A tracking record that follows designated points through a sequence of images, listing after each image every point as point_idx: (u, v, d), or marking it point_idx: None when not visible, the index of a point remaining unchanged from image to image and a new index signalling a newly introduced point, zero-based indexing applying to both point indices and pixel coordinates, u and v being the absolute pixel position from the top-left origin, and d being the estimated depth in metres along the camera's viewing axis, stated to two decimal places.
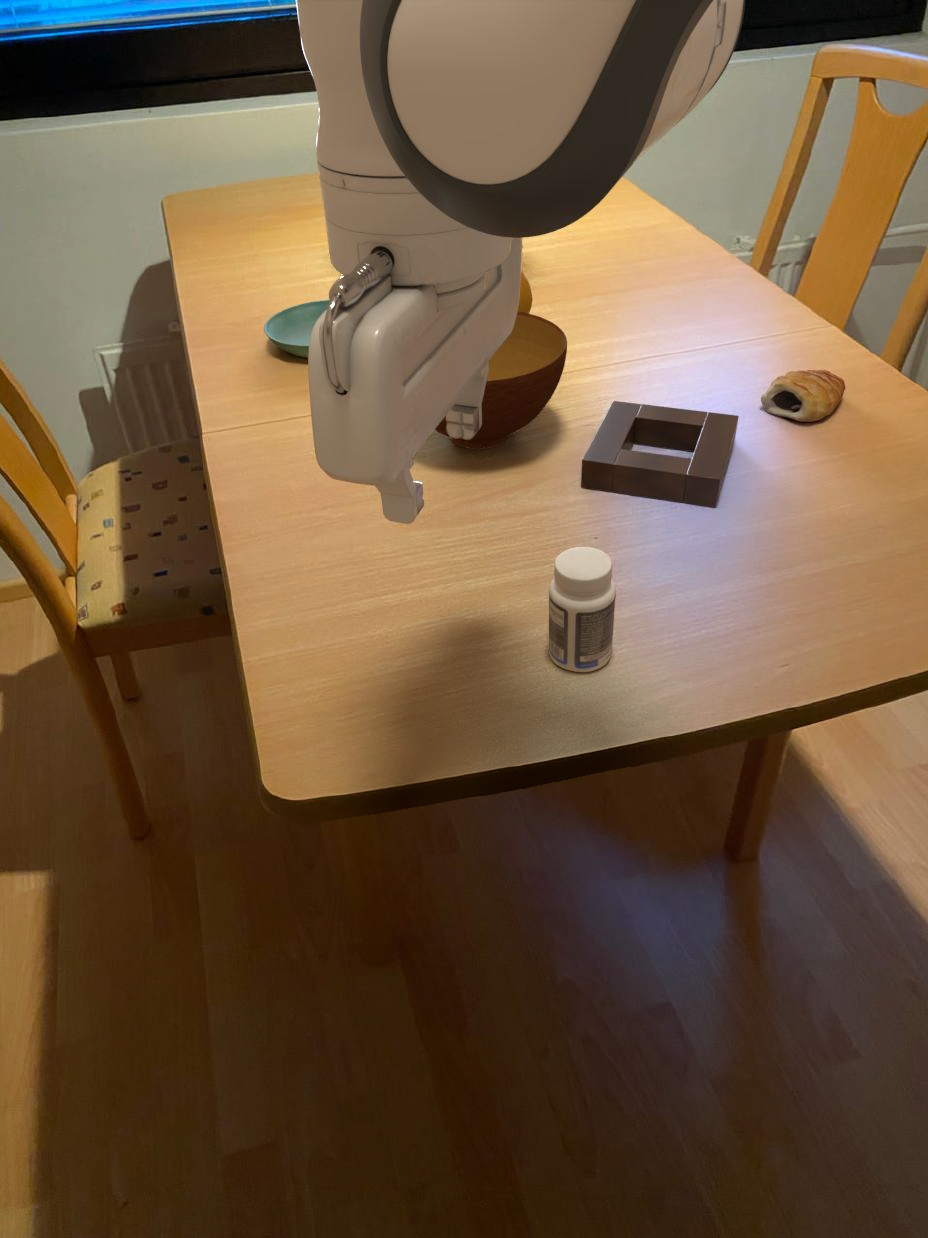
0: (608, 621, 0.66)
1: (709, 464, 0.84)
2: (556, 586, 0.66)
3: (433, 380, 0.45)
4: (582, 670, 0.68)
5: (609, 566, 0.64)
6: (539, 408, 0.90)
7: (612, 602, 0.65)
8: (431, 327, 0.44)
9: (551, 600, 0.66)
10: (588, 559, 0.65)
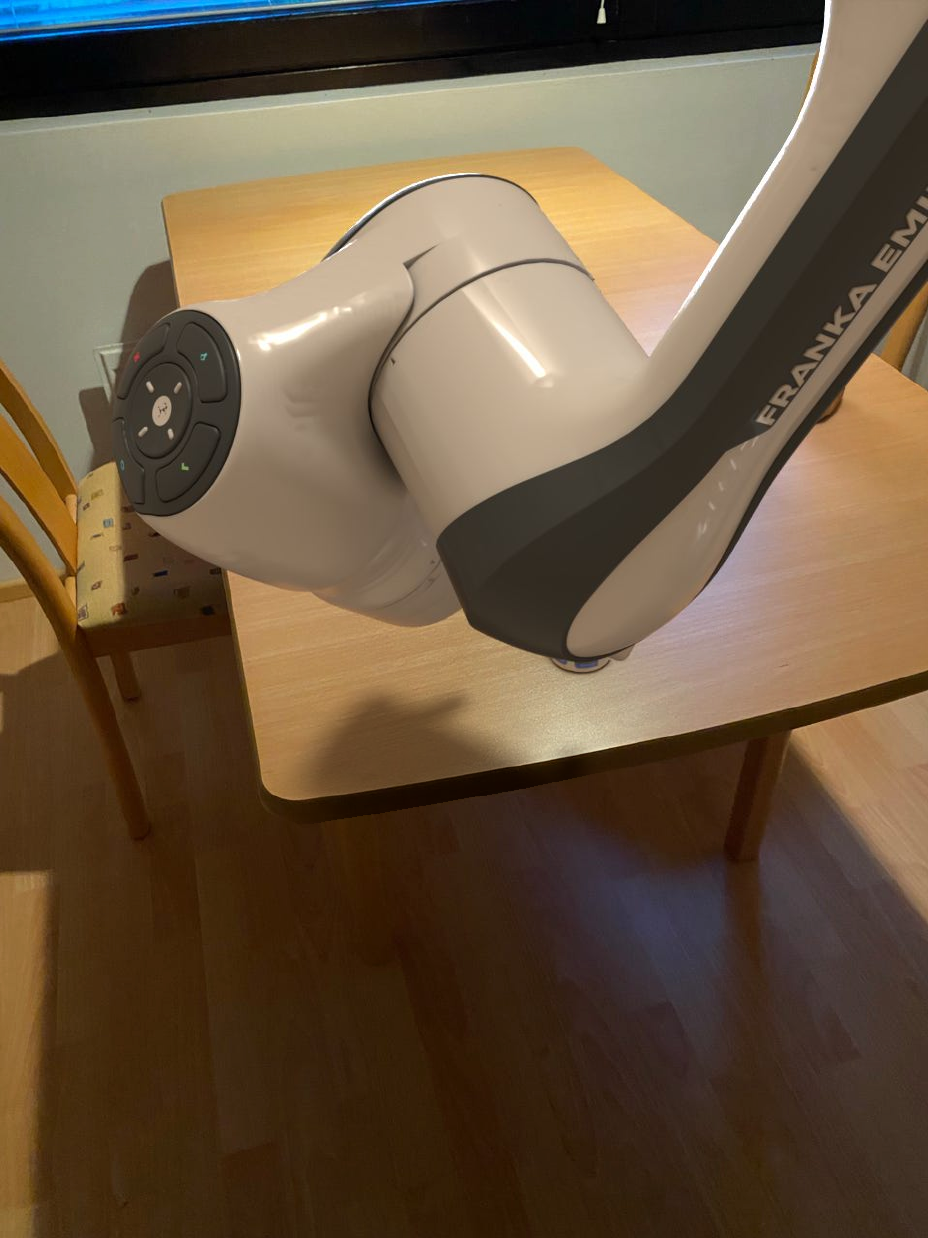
0: None
1: None
2: None
3: None
4: (582, 670, 0.68)
5: None
6: None
7: None
8: None
9: None
10: None
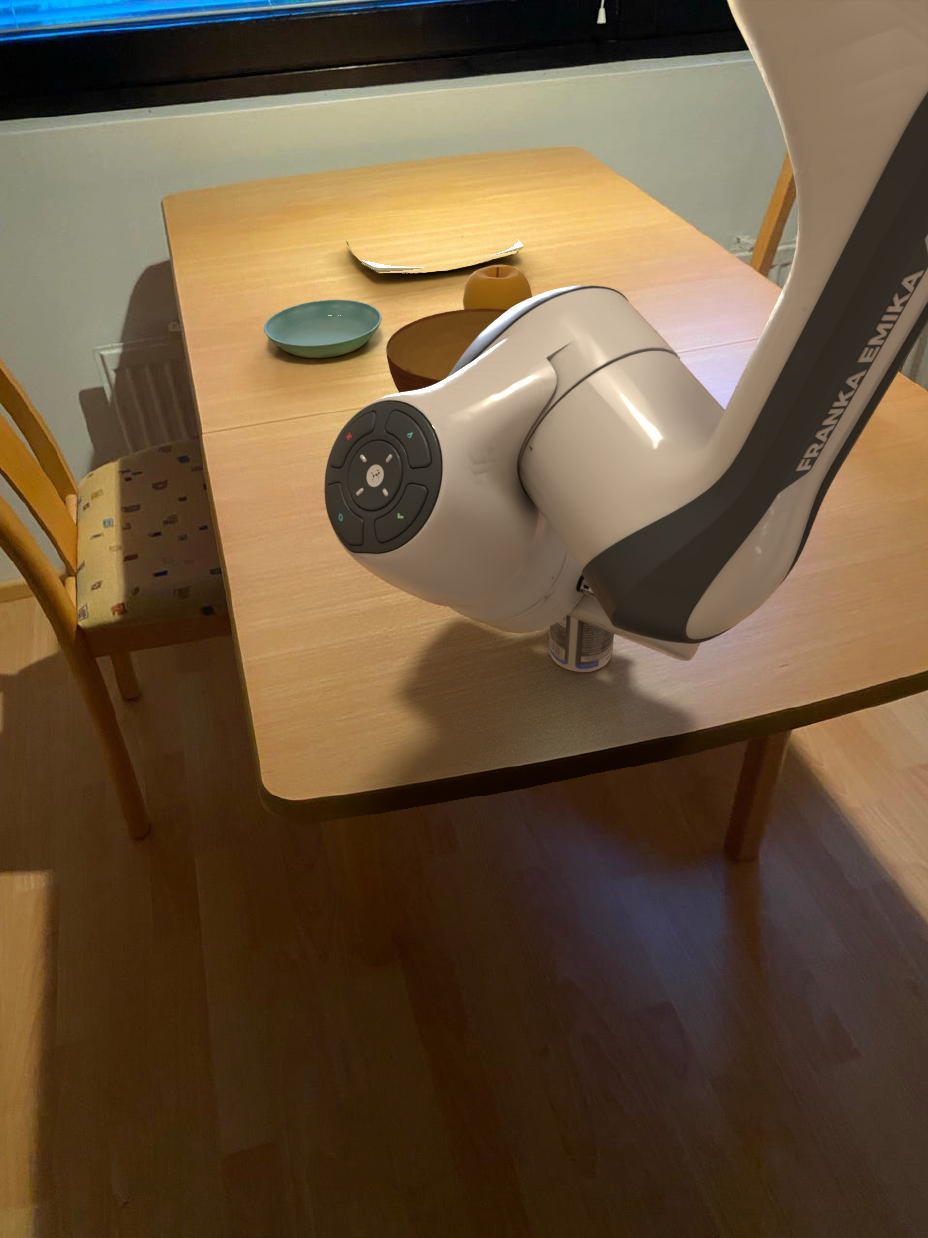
0: None
1: None
2: None
3: None
4: (583, 670, 0.68)
5: None
6: None
7: None
8: None
9: None
10: None
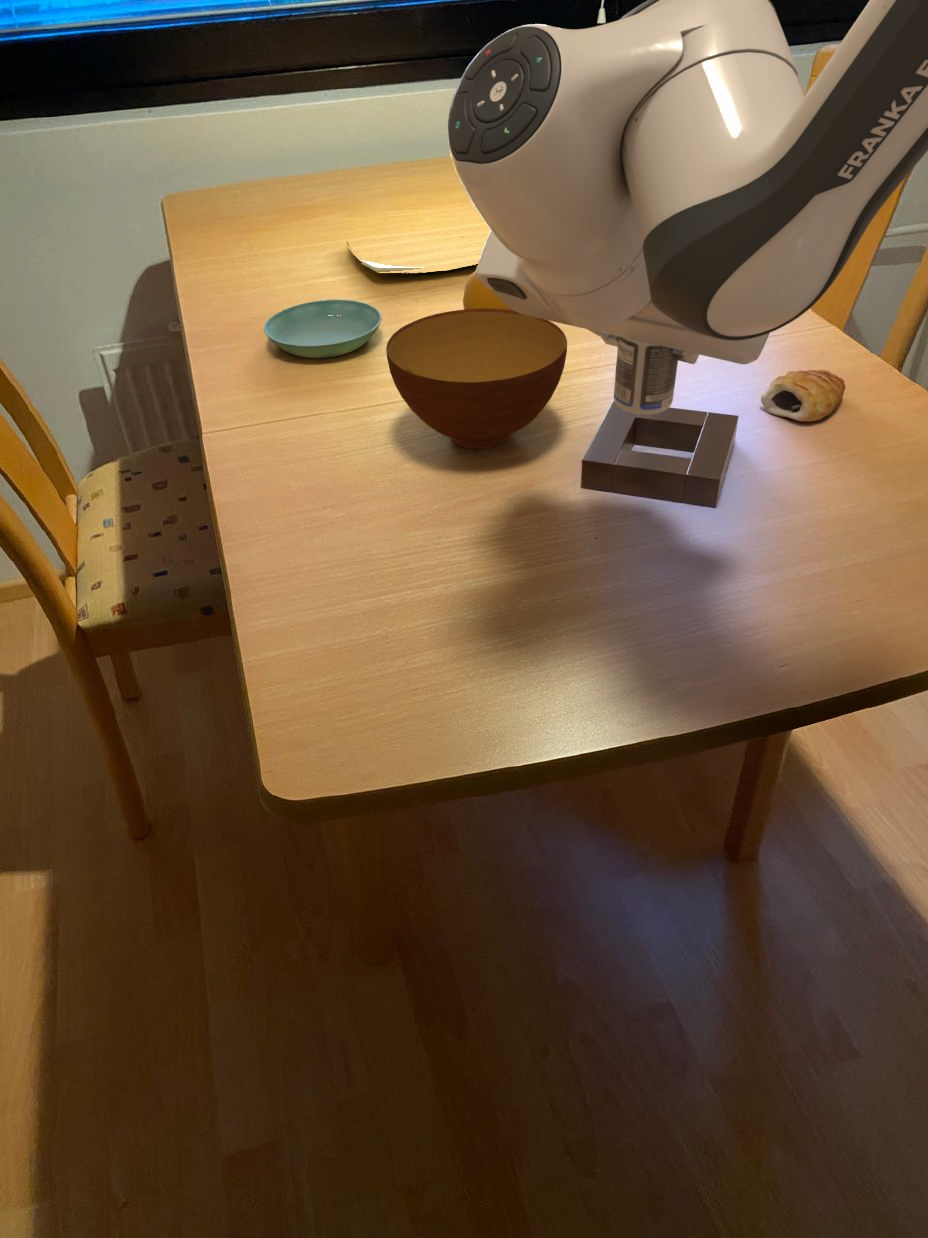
0: (674, 360, 0.71)
1: (709, 464, 0.84)
2: None
3: None
4: (646, 411, 0.73)
5: None
6: (539, 408, 0.90)
7: None
8: None
9: (622, 338, 0.71)
10: None
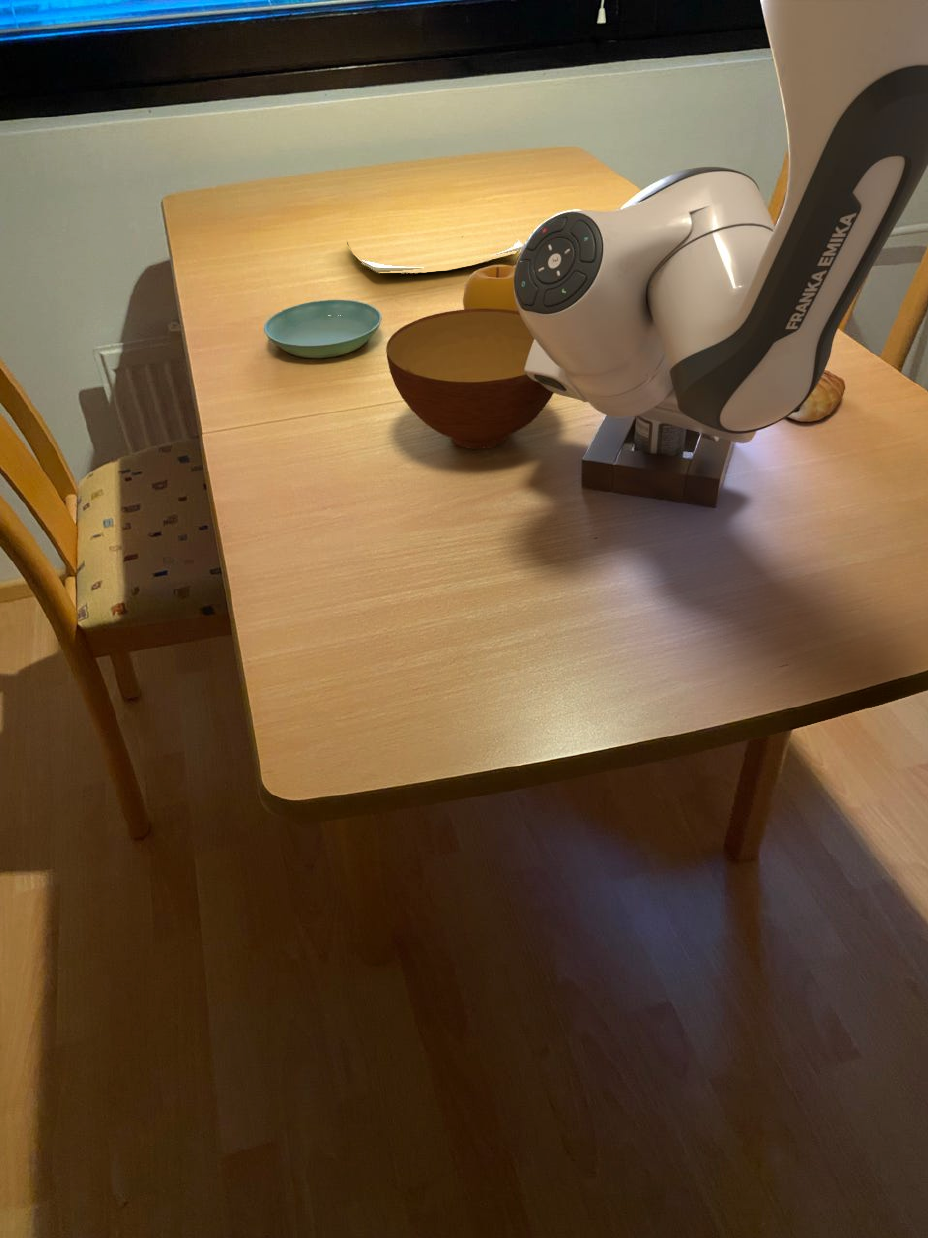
0: (682, 433, 0.86)
1: (709, 464, 0.84)
2: None
3: None
4: None
5: None
6: (539, 408, 0.90)
7: None
8: None
9: (639, 416, 0.86)
10: None
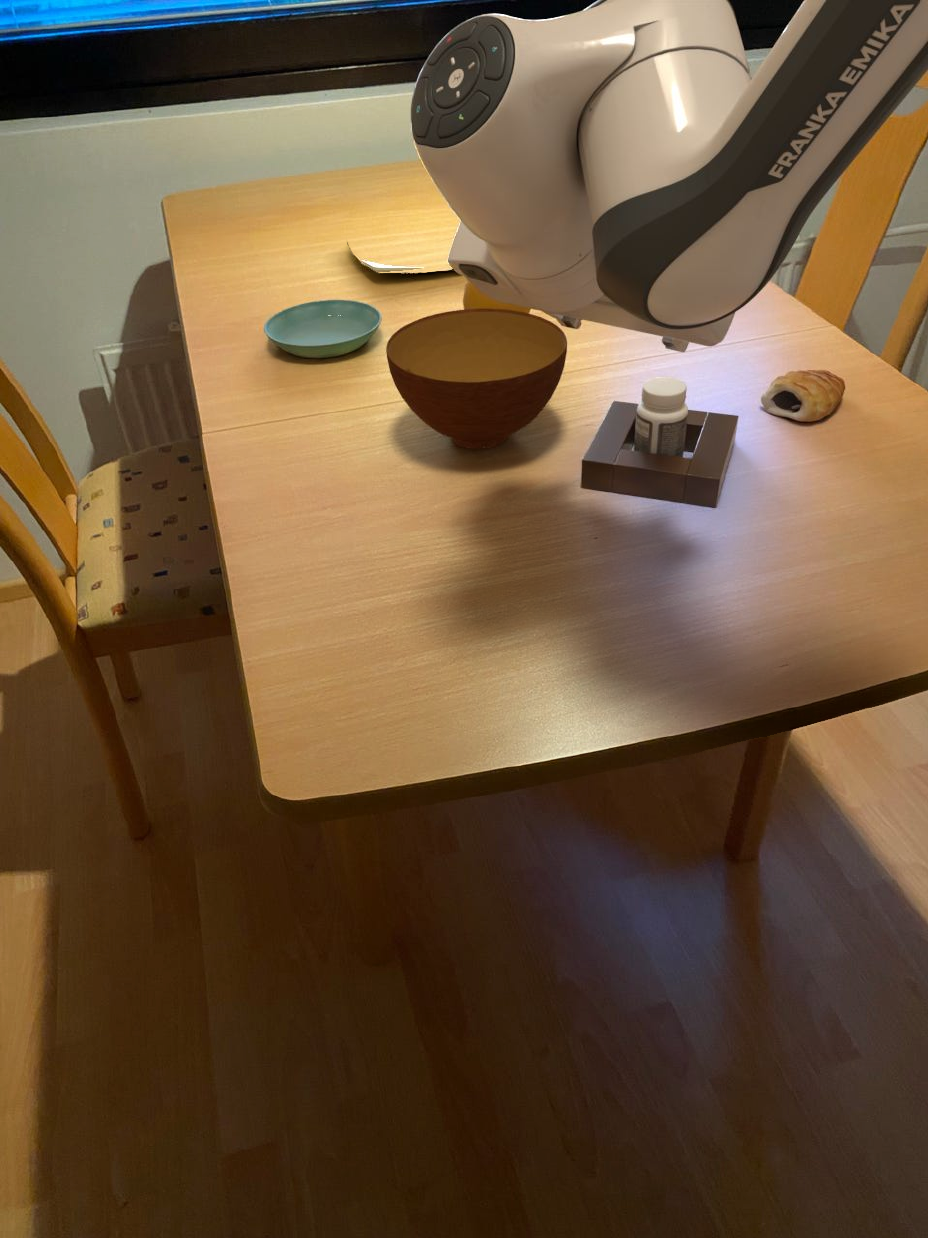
0: (682, 433, 0.86)
1: (709, 464, 0.84)
2: (643, 405, 0.86)
3: None
4: None
5: (684, 387, 0.85)
6: (539, 408, 0.90)
7: (686, 417, 0.86)
8: None
9: (639, 416, 0.86)
10: (668, 383, 0.85)
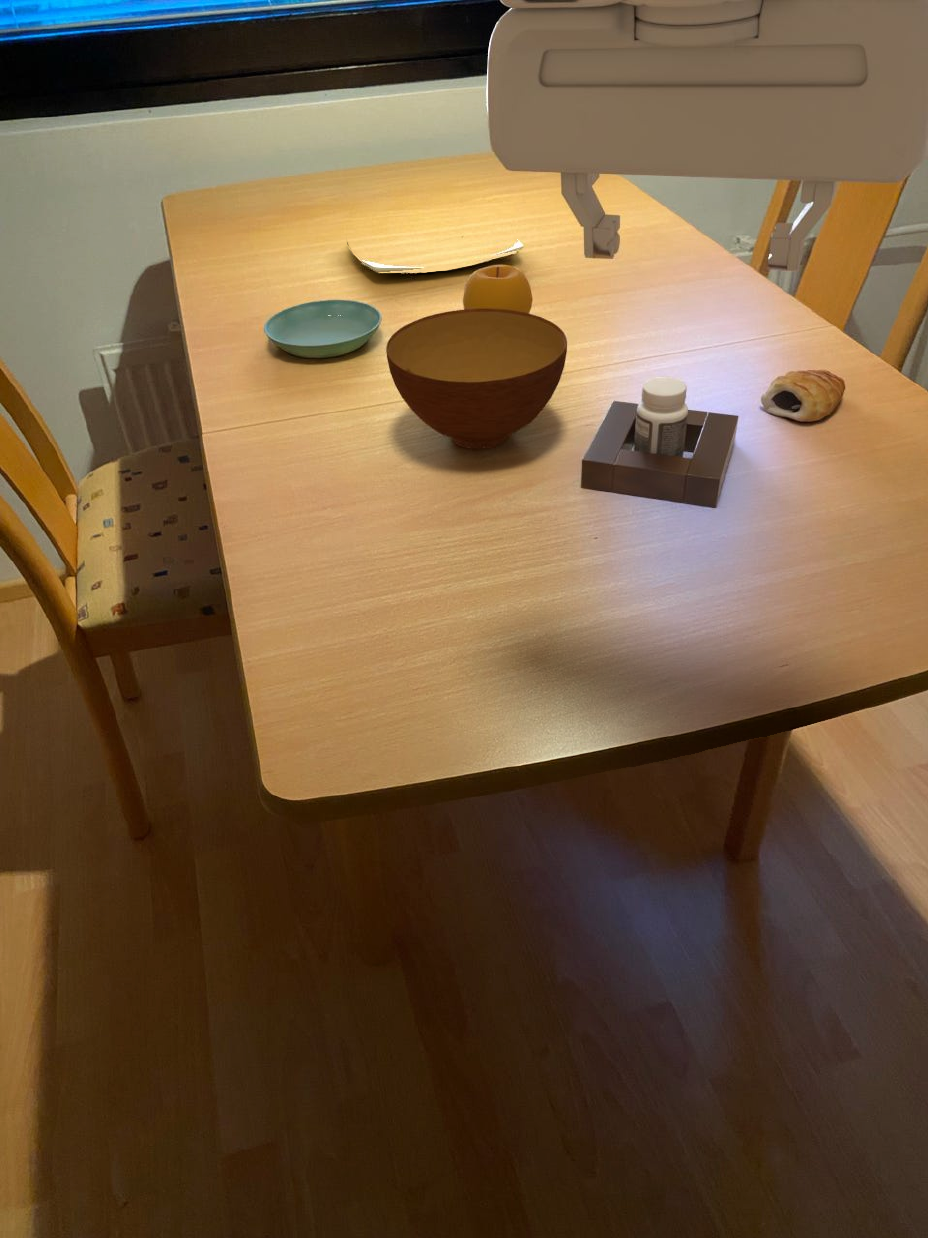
0: (682, 433, 0.86)
1: (709, 464, 0.84)
2: (643, 405, 0.86)
3: None
4: None
5: (684, 387, 0.85)
6: (539, 408, 0.90)
7: (686, 417, 0.86)
8: None
9: (639, 416, 0.86)
10: (668, 383, 0.85)
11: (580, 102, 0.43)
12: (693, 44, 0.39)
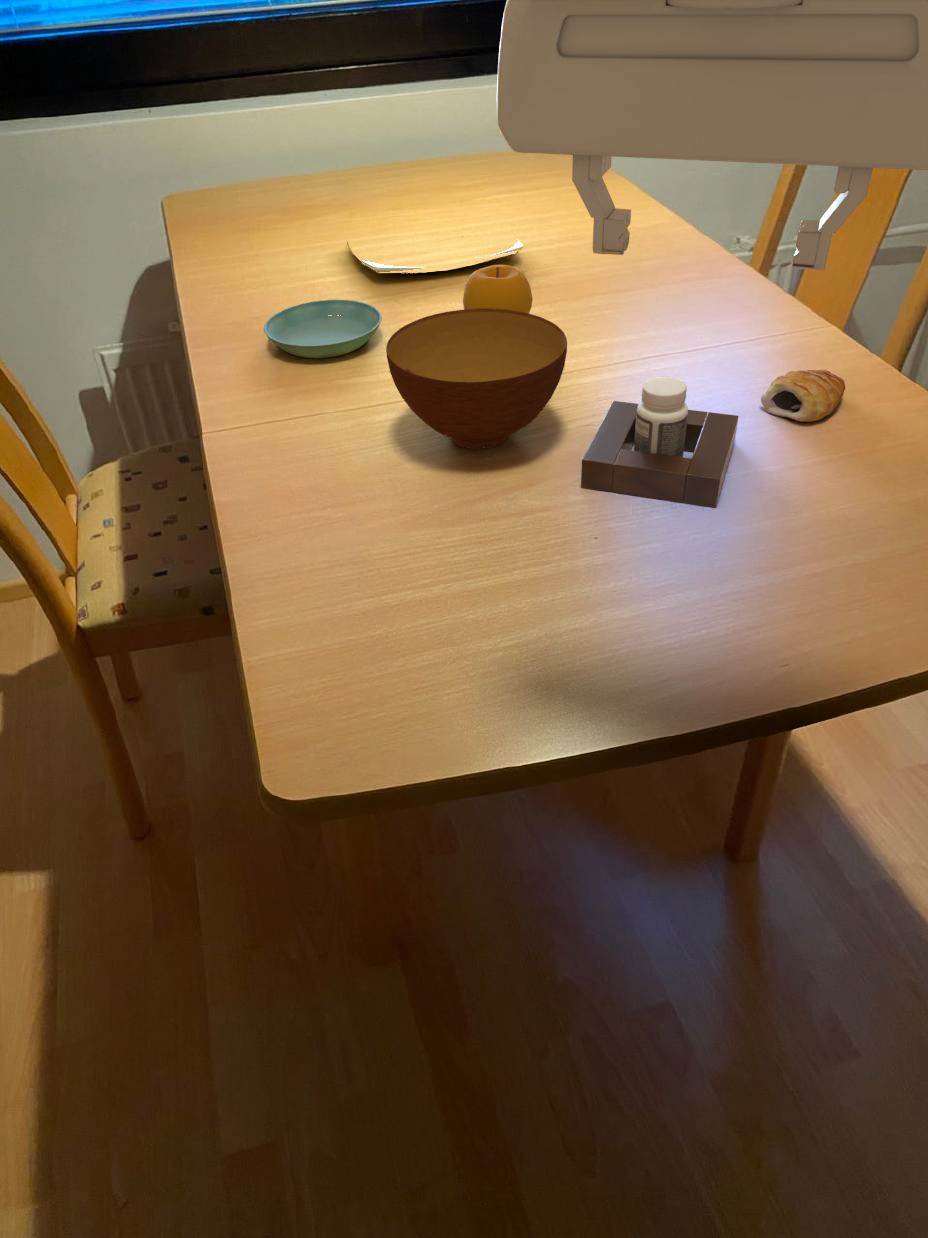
0: (682, 433, 0.86)
1: (709, 464, 0.84)
2: (643, 405, 0.86)
3: None
4: None
5: (684, 387, 0.85)
6: (539, 408, 0.90)
7: (686, 417, 0.86)
8: None
9: (639, 416, 0.86)
10: (668, 383, 0.85)
11: (601, 75, 0.40)
12: (734, 6, 0.36)
